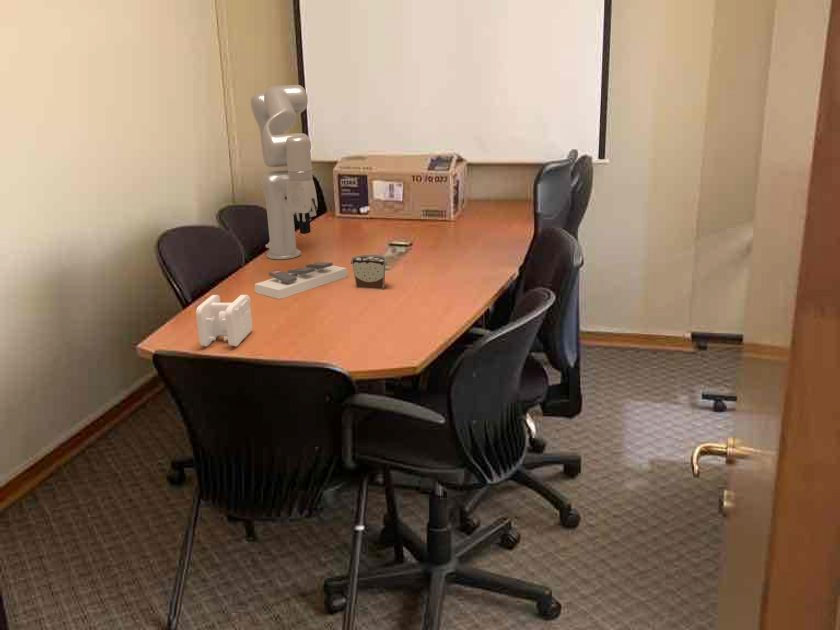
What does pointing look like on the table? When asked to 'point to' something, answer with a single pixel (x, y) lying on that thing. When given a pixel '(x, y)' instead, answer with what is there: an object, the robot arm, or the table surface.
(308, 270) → the rocker
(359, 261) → the food container
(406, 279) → the table surface
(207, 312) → the cable organizer
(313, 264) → the rocker
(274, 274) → the rocker
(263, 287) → the rocker switch panel
